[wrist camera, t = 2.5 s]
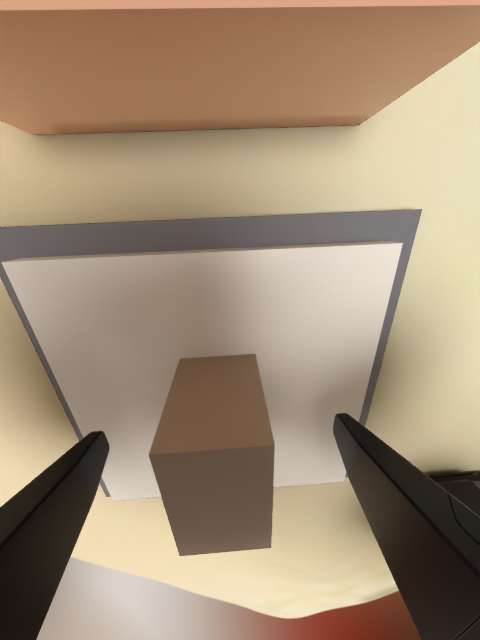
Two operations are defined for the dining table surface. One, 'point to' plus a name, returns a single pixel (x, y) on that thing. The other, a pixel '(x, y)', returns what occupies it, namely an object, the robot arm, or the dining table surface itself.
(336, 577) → the dining table surface
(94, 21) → the dish
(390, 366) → the dining table surface
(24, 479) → the dining table surface
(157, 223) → the mat
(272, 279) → the lid
